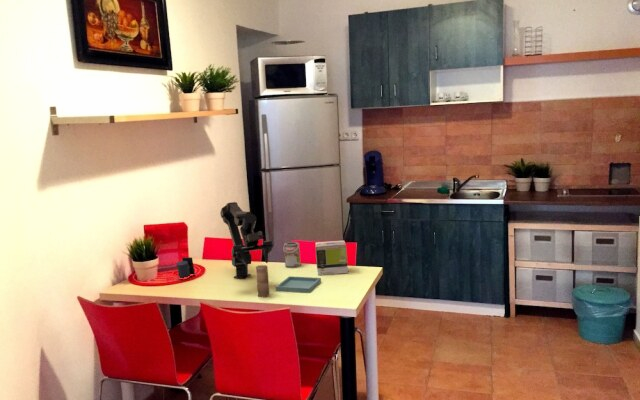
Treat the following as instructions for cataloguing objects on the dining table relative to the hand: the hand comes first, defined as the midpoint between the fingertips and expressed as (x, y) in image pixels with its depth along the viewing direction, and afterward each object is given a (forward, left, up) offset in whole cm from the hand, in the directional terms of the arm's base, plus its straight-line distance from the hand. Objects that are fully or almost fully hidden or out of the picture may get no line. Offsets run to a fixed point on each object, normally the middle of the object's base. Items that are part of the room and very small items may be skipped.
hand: (257, 264), depth 246 cm
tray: (-10, +16, -13) cm, 22 cm away
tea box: (-35, +24, -13) cm, 44 cm away
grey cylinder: (-42, 0, -13) cm, 43 cm away
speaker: (-13, -46, -13) cm, 50 cm away
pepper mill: (+5, +5, -13) cm, 14 cm away
